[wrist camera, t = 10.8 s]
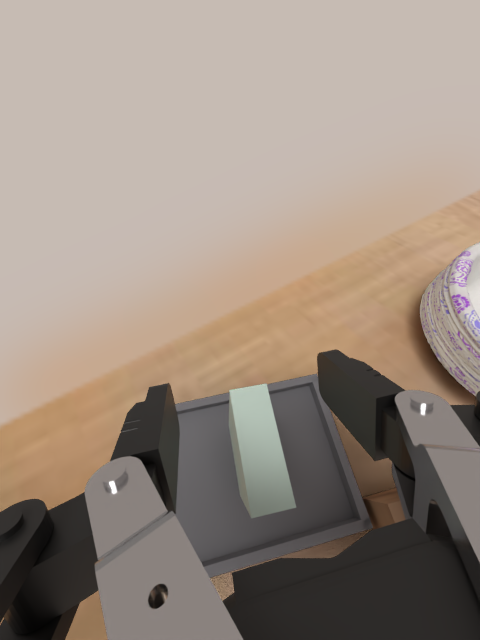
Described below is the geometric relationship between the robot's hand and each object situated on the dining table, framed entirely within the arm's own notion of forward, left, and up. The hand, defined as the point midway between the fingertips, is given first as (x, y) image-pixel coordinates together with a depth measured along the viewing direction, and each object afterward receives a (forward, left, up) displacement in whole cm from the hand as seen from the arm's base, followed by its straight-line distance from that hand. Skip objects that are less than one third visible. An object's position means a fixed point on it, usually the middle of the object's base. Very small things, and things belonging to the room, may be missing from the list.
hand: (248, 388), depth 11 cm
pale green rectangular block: (0, -2, -13) cm, 13 cm away
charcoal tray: (0, -3, -13) cm, 14 cm away
